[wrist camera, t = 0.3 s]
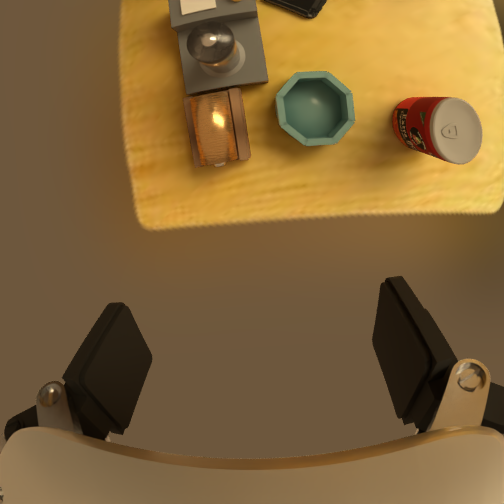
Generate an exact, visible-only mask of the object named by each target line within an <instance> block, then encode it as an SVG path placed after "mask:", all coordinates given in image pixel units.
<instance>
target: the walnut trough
mask: <svg viewBox="0 0 504 504" xmlns="http://www.w3.org/2000/svg"><path fill="white" fill-rule="evenodd" d="M221 92H228V98H229V104H230V111H231V117H232V123H233V130H234V136H235V143H236V149H237V155H238V158H237V159H235V160H238V159H240V161H241V160H248V159H249V158H250V157H251V153H250V147H249V140H248V133H247V126H246V120H245V113H244V106H243V100H242V93H241V89H240V88H239V89H238V88H232V89H229V90H227V91H221ZM215 93H218V92H215ZM210 94H211V93H210ZM196 97H197V96H196ZM191 98H193V97H186V98H183V102H184V108H185V114H186V120H187V125H188V131H189V137H190V142H191V148H192V153H193V158H194V164H195V168H196V167H202V166H204V165H201V162H200V156H199V151H198V145H197V140H196V134H195V128H194V123H193V117H192V111H191V105H190V99H191Z"/></svg>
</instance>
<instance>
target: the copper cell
mask: <svg viewBox="0 0 504 504" xmlns="http://www.w3.org/2000/svg"><path fill="white" fill-rule="evenodd" d="M190 105H191V111H192V117H193V123H194V128H195V134H196V140H197V145H198V151H199V156H200V162H201V165H212V164H214V167H220V166H224V165H226V162H228V161H232V160H235V159H237V158H238V155H237V149H236V143H235V136H234V130H233V123H232V117H231V111H230V104H229V98H228V92H218V93H211V94H205V95H200V96H197V97H193V98H191V99H190Z"/></svg>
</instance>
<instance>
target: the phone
mask: <svg viewBox="0 0 504 504" xmlns="http://www.w3.org/2000/svg"><path fill="white" fill-rule="evenodd" d="M264 1H266V2H269V3H272V4H274V5H277V6H280V7H282V8H285V9H287V10H290V11H292V12H294V13H297V14H299V15H301V16H303V17H306V18H314V17H316V16H317V15H318V13H319V11H321V9H322V6H323V5H324V4H325V3H326V0H264Z"/></svg>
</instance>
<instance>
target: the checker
mask: <svg viewBox="0 0 504 504" xmlns="http://www.w3.org/2000/svg"><path fill="white" fill-rule="evenodd" d="M168 1H169V10H170V19H171V27H172V28H173V29H174V30H175V31H176V32H177V34H178V41H179V48H180V55H181V62H182V69H183V76H184V82H185V89H186V94H187V95H194V94H199V93H204V92H209V91H214V90H219V89H225V88H231V87H237V86H244V85H251V84H259V83H268V75H267V68H266V62H265V56H264V50H263V44H262V38H261V32H260V27H259V21H258V14H257V7H256V1H255V0H168ZM211 21H214V22H220V23H223V24H225V25H226V26H228V27H229V28H230V29H231V31H232V33H233V35H234V38H235V41H236V44H237V46H238V49H239V51H240V61H239V63H238V65H237V66H236V67H235V68H234V69H233V70H231V71H229V72H226V73H216V72H213V71H211V70H210V69H208V68H207V67H206V66H204V65H203V64H202V63H201V62H199V61H197V60H196V59H195V58H193V57H192V56H191V55H190V54H189V52H188V50H187V45H186V43H187V38H188V36H189V34H190V32H191V31H192V30H193V29H194V28H195V27H197V26H198V25H200V24H202V23H205V22H211Z"/></svg>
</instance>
